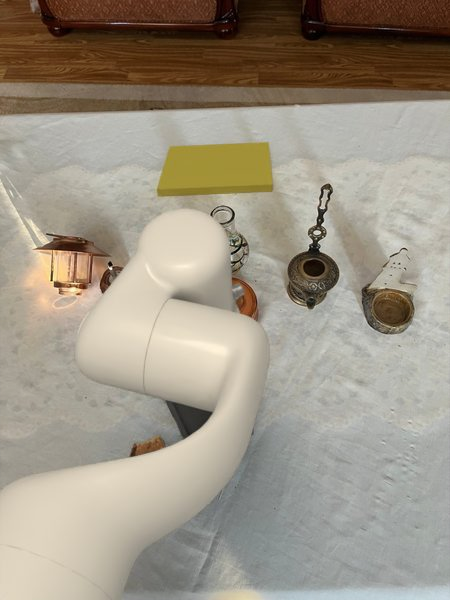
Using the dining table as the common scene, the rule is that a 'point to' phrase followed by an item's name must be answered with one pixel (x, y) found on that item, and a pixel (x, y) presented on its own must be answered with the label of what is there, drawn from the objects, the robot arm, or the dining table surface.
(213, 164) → the flat olive board
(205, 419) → the bin
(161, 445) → the shard
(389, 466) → the dining table surface
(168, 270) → the robot arm
